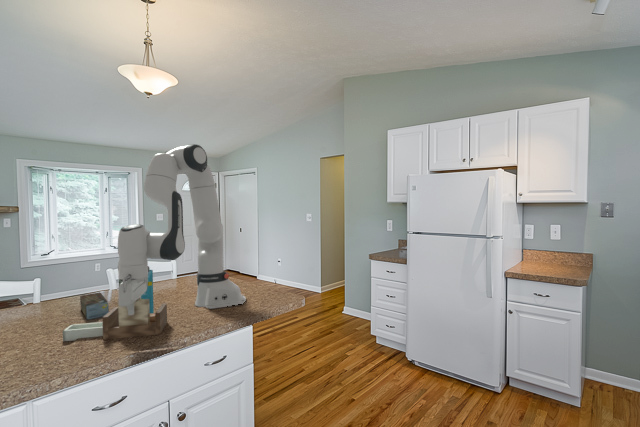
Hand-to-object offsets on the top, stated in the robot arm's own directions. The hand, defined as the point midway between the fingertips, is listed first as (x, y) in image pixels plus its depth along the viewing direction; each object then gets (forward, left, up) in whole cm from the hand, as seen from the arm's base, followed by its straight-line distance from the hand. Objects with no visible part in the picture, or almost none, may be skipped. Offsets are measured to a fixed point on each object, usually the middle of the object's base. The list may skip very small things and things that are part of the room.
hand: (134, 311), depth 114 cm
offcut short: (-3, -5, -5) cm, 8 cm away
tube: (+1, -20, -8) cm, 22 cm away
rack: (0, -3, -8) cm, 9 cm away
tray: (+16, -3, -8) cm, 18 cm away
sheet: (0, 0, -8) cm, 8 cm away
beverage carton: (+24, -32, -9) cm, 41 cm away
